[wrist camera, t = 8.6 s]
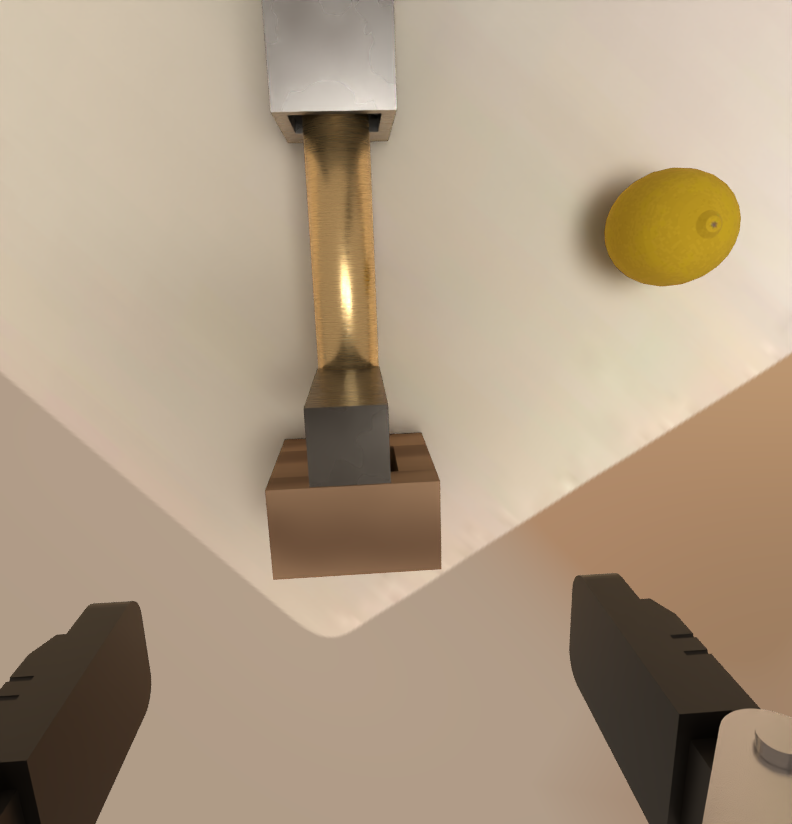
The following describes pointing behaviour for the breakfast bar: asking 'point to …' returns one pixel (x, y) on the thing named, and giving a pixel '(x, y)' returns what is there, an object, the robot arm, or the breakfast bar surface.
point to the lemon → (672, 226)
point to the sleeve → (330, 62)
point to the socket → (355, 516)
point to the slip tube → (343, 308)
